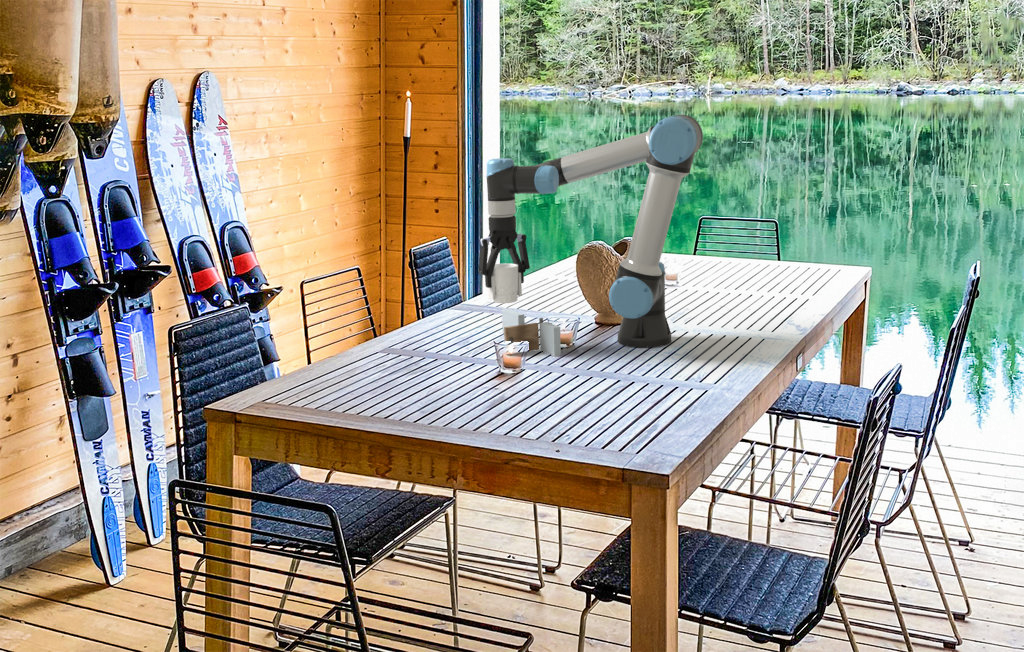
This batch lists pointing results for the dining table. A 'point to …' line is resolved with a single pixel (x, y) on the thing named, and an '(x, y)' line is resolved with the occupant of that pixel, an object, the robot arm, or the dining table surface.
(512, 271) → the white cup
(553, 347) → the wall frame
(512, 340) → the door
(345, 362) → the dining table surface
